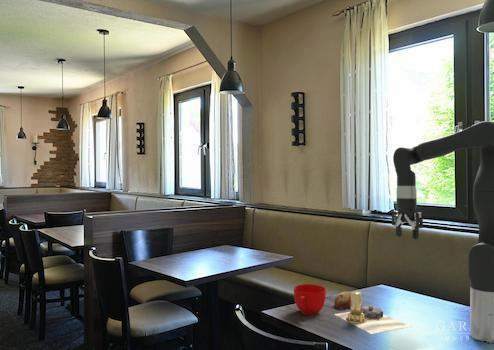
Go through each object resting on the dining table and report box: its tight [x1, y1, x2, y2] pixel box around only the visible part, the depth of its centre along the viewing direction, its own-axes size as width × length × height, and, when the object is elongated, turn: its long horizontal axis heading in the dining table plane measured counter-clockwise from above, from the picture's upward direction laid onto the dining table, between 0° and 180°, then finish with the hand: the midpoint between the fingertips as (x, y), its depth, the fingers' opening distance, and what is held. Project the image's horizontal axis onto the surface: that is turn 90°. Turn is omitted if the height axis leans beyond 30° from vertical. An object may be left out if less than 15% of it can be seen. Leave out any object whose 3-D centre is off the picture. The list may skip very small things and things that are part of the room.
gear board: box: [333, 304, 412, 335], centre depth 165 cm, size 22×18×5 cm
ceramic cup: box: [293, 283, 327, 316], centre depth 176 cm, size 13×17×10 cm
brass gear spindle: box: [348, 291, 364, 322], centre depth 165 cm, size 6×6×10 cm
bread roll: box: [334, 291, 351, 311], centre depth 186 cm, size 10×10×8 cm
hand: (407, 237), depth 174 cm, fingers open, 8 cm apart
